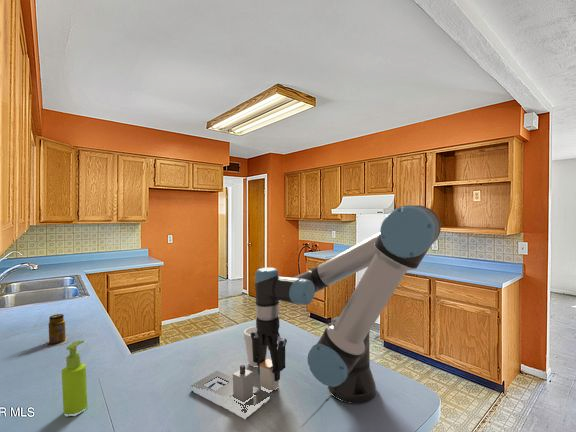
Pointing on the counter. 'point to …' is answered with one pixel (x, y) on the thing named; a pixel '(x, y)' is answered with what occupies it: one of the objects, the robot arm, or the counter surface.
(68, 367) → the soap dispenser
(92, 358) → the counter surface
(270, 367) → the plug
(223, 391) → the socket strip
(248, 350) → the foam cup
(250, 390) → the grey tall block
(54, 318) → the condiment
